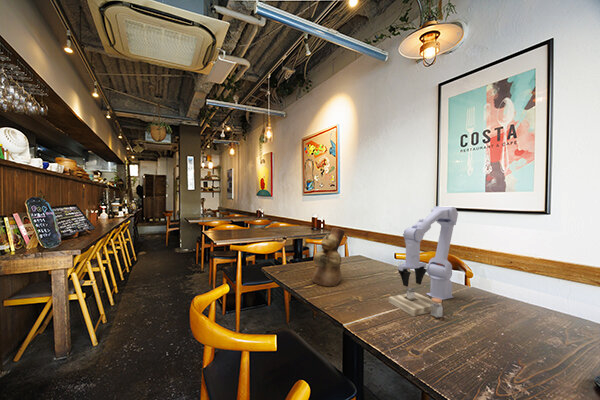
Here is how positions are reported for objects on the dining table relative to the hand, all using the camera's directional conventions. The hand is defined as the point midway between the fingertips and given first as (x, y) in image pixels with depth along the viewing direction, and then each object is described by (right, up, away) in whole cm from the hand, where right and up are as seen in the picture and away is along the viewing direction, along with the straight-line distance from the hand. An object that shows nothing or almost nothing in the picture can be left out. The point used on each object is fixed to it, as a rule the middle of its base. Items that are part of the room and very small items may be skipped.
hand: (412, 284), depth 112 cm
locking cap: (+5, -6, -11) cm, 14 cm away
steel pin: (0, -9, +1) cm, 9 cm away
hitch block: (0, -9, -1) cm, 9 cm away
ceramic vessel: (-33, -8, +30) cm, 46 cm away
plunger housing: (+5, -9, -11) cm, 15 cm away
